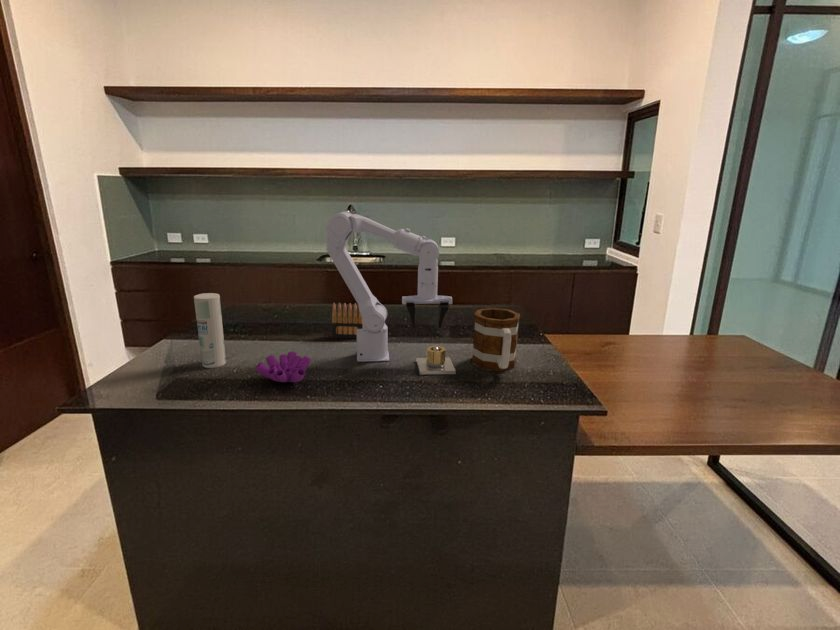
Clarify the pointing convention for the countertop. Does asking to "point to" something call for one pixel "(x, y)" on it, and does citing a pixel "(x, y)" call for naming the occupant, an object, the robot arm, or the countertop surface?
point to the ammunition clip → (346, 322)
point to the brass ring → (436, 355)
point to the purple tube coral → (284, 367)
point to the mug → (495, 339)
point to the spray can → (210, 329)
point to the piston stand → (435, 366)
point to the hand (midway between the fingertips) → (426, 327)
